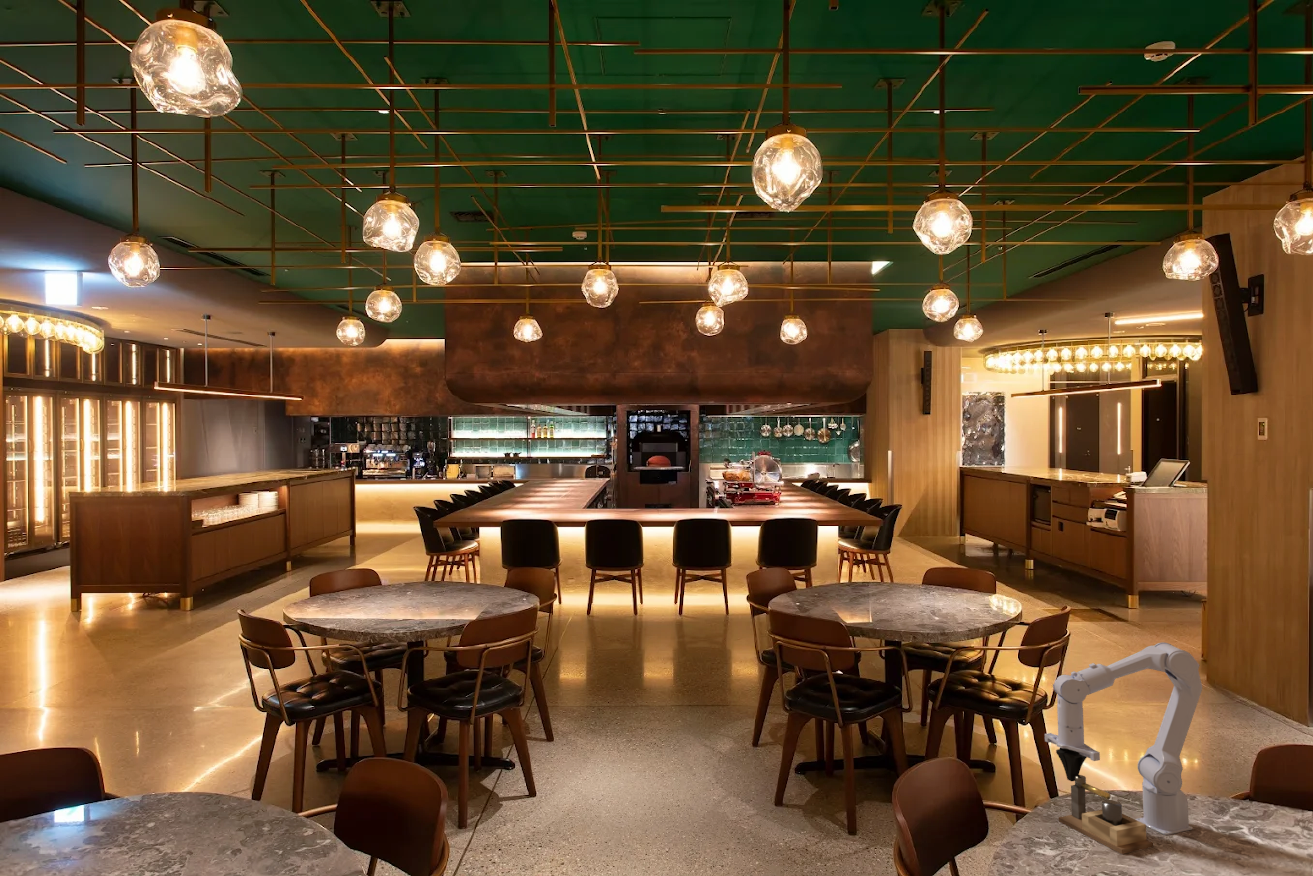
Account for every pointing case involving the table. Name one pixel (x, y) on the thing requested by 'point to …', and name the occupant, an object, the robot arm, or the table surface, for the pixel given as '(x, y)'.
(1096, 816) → the dock
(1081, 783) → the lock bolt
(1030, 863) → the table surface
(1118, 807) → the black rounded block
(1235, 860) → the table surface
